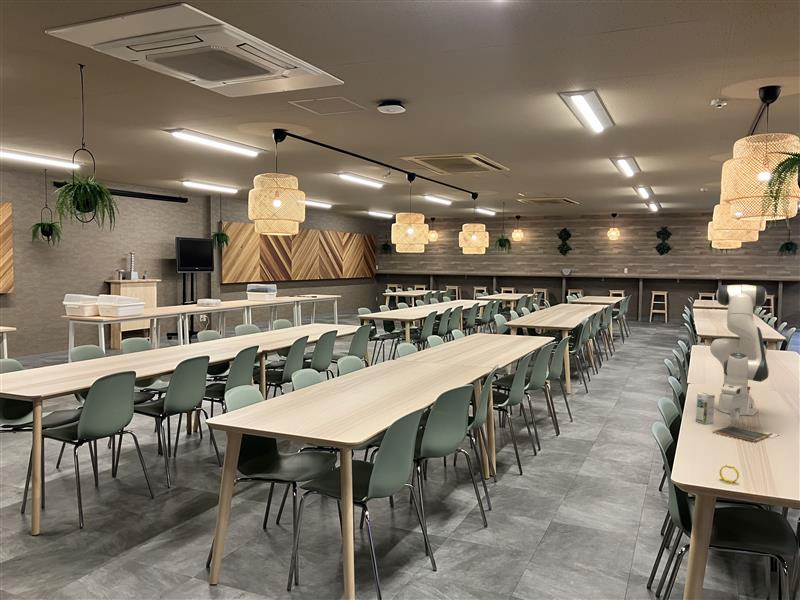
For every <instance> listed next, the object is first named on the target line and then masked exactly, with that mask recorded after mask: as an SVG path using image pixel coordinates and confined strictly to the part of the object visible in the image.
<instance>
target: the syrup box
mask: <svg viewBox="0 0 800 600" xmlns="http://www.w3.org/2000/svg"><path fill="white" fill-rule="evenodd" d="M715 398H716V396H715V394H711V393H708V392H704V391H703V392H697V395H696V411H695V422H696V421H697V422H698V423H700V424H703V425H710V424H713V423H714V413H715ZM697 422H696V423H697Z"/></svg>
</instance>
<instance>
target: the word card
mask: <svg viewBox="0 0 800 600" xmlns="http://www.w3.org/2000/svg"><path fill="white" fill-rule="evenodd" d="M763 433H764V434H768V435H770V436H769V437H770V439H773V437H774V438H777V437H779V436H778V435H779V433H778V434H777V433H772V432H768V431H766V432H763ZM769 437H768V438H769Z"/></svg>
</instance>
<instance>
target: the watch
mask: <svg viewBox="0 0 800 600" xmlns="http://www.w3.org/2000/svg"><path fill="white" fill-rule="evenodd" d="M724 468H728V469H733V470H734V471H735V473H736V478H735V479H734V480H731V479H726V478H725V477H724V476H723V474H722V470H723V469H724ZM719 477H720V478H721V479H722V481H724V480H725V481H726V482H728V481H729V482H730V483H732V482H733V483H736V482H737V481H738V479H739V477H740V472H739V471H738V468H736V466H735V465H733V464H731V463H726V464H724V465H723V466H722V467H721V468H720V469H719Z"/></svg>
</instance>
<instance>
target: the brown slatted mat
mask: <svg viewBox="0 0 800 600" xmlns="http://www.w3.org/2000/svg"><path fill="white" fill-rule="evenodd" d="M714 433H716V434H715V435H719V434H720V435H719V436H723V435H724V436H723V437H727V436H729V437H728V438H731V437H733V438H732V439H736V438H737V439H736V440H740V439H742V440H741V441H744V440H745V442H748V441H750V442H749V443H753V442H754V444H755V442H756V443H758V442H761V441H764V440H765V438H766V439H769V436H770V435H768V434H764V433H765V432H759V431H754V430H749V429H746V428H741V427H738V426H732V425H727V426H724V427H721V428H718V429H715V430H713V431H712V434H714ZM760 440H761V441H760Z"/></svg>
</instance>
